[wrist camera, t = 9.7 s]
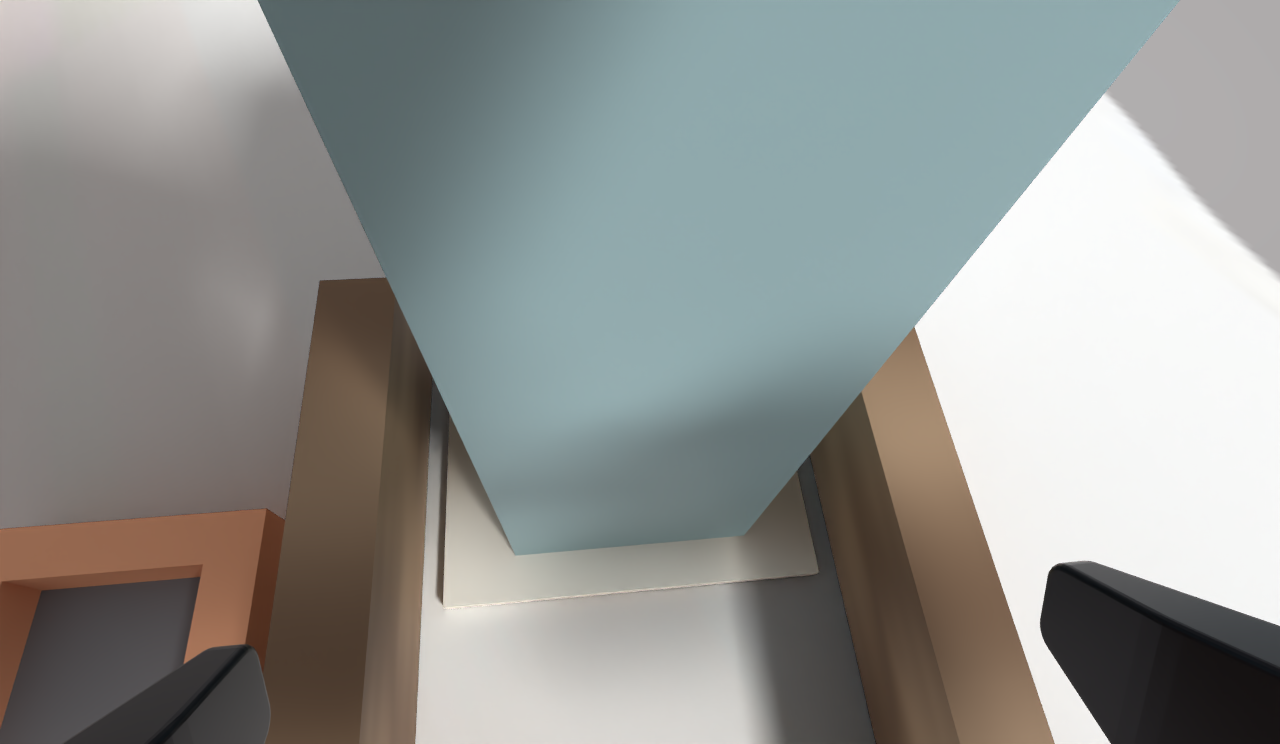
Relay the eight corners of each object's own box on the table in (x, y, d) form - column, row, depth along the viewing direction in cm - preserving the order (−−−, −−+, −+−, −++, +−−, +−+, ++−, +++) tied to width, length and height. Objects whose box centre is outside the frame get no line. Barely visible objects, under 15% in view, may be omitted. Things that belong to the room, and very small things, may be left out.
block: (743, 535, 15) (1189, -14, 4) (515, 555, 14) (250, -14, 3) (710, 340, 17) (926, -360, 6) (512, 352, 17) (351, -389, 6)
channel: (1043, 1086, 11) (1216, 1226, 8) (289, 1222, 10) (150, 1451, 7) (838, 336, 18) (889, 255, 15) (371, 363, 16) (319, 280, 13)
